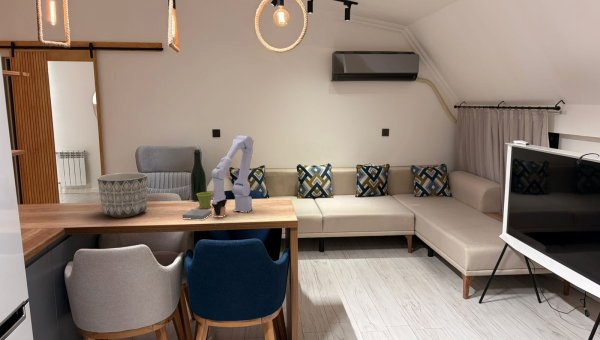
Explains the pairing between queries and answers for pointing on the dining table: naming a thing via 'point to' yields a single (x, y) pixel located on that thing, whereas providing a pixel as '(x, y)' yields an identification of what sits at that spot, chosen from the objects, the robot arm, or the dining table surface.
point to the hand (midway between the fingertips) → (219, 213)
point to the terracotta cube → (222, 213)
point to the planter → (123, 193)
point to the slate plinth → (197, 214)
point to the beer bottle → (197, 177)
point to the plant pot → (204, 199)
